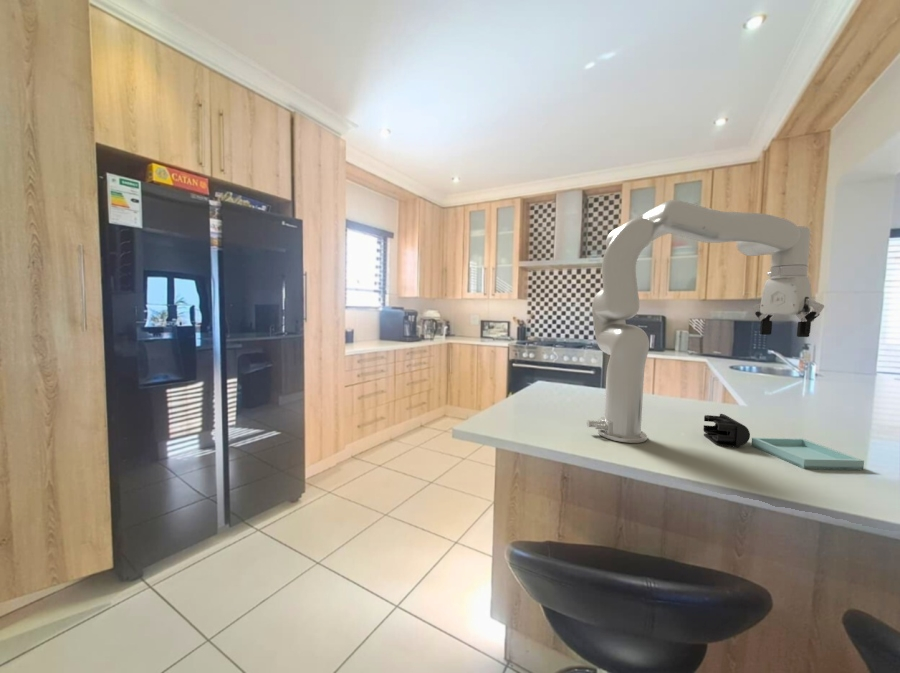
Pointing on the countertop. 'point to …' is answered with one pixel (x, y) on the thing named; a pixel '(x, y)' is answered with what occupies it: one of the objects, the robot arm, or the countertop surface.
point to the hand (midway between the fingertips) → (783, 335)
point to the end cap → (726, 431)
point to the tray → (807, 454)
